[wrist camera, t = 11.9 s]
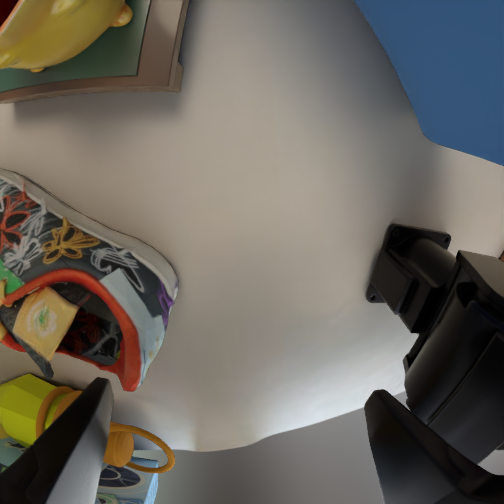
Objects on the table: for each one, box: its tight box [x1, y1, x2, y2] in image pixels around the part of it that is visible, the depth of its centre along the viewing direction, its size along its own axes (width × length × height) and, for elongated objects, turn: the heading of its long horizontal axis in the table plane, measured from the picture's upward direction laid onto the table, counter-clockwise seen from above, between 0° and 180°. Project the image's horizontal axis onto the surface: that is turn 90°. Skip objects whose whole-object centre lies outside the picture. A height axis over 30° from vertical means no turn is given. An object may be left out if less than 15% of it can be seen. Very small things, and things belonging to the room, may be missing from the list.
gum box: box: [0, 437, 158, 504], centre depth 20 cm, size 20×5×23 cm
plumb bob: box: [0, 373, 175, 474], centre depth 21 cm, size 9×9×25 cm
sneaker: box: [0, 169, 178, 392], centre depth 13 cm, size 8×22×10 cm, turn 65°
